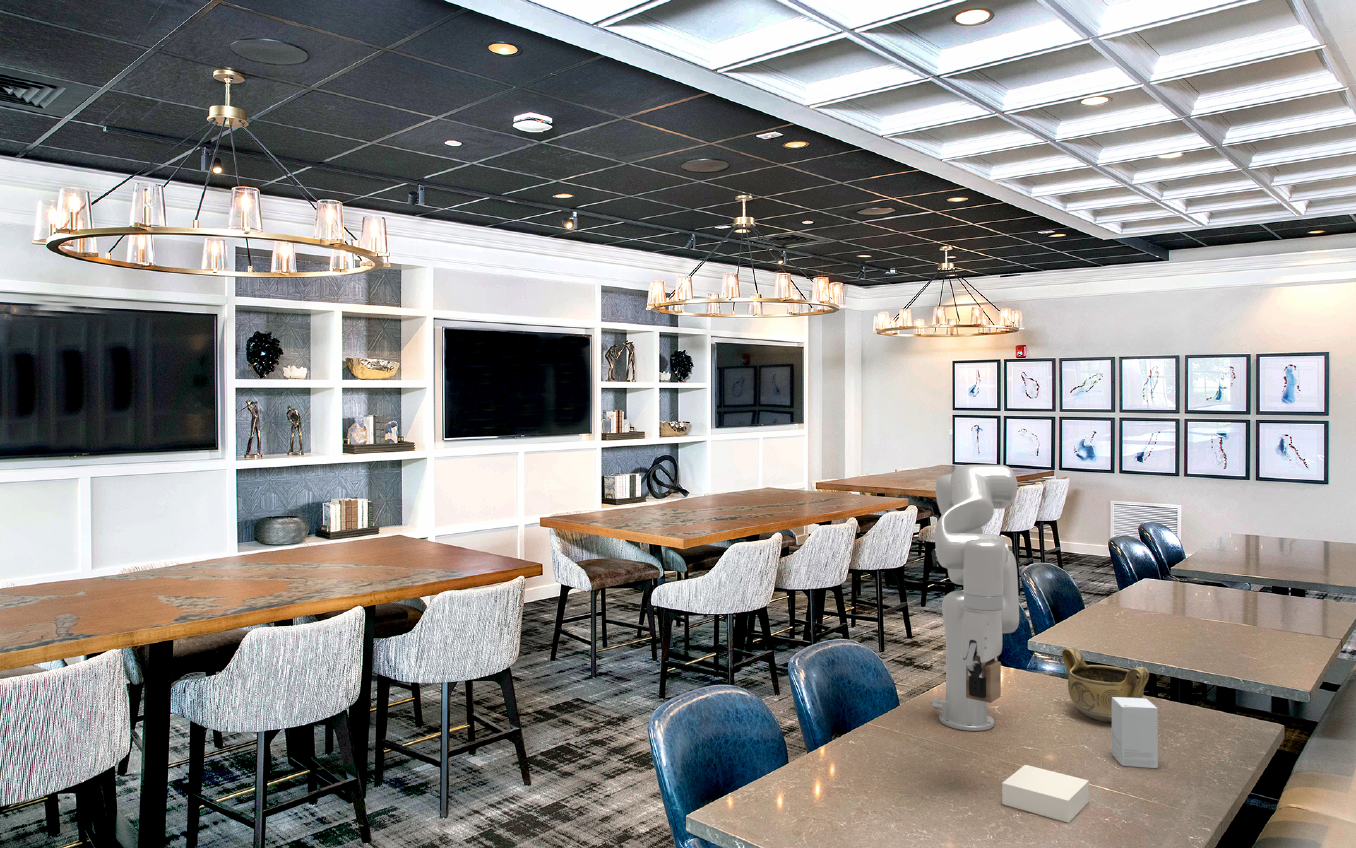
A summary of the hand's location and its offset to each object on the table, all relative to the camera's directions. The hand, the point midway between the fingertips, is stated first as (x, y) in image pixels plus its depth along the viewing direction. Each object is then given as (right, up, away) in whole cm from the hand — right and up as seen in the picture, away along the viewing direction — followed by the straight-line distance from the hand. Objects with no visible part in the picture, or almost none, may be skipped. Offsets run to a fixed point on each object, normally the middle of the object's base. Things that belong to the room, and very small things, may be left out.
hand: (983, 692), depth 176 cm
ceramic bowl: (+44, -19, +41) cm, 63 cm away
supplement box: (+37, -19, +13) cm, 43 cm away
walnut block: (0, -1, 0) cm, 1 cm away
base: (+9, -18, -8) cm, 22 cm away
